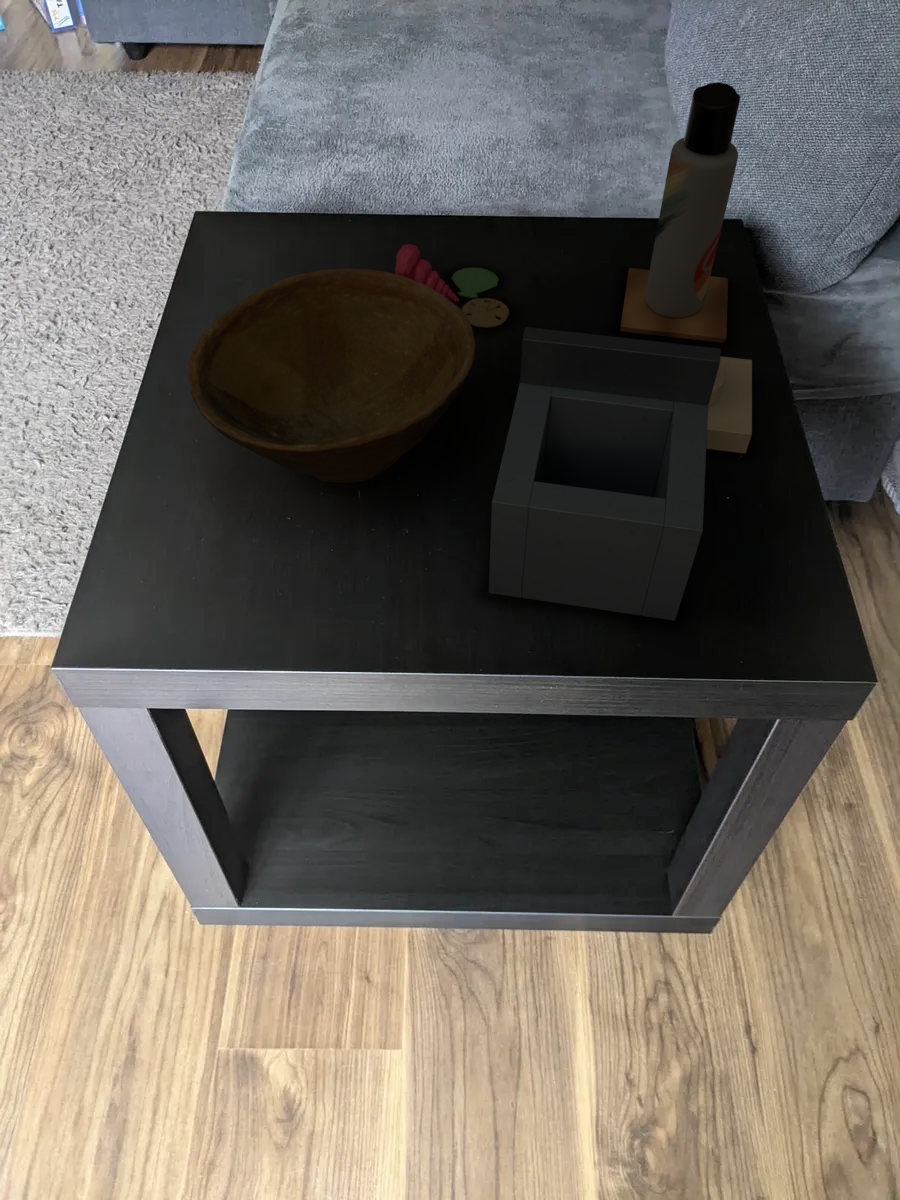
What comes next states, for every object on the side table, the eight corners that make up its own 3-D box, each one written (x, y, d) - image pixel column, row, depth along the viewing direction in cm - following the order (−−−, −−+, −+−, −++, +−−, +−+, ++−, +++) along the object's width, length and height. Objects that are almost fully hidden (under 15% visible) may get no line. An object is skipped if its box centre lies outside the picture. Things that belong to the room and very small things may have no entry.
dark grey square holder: (683, 487, 77) (721, 348, 66) (675, 621, 69) (716, 487, 58) (516, 465, 79) (525, 326, 68) (488, 593, 71) (493, 458, 59)
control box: (746, 379, 85) (757, 343, 82) (745, 453, 79) (757, 418, 76) (615, 364, 87) (620, 328, 84) (604, 436, 81) (610, 400, 78)
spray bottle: (712, 296, 92) (764, 84, 76) (688, 326, 89) (737, 113, 73) (659, 278, 94) (699, 69, 78) (634, 307, 91) (671, 95, 75)
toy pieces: (382, 330, 90) (379, 290, 87) (401, 264, 97) (399, 225, 94) (505, 339, 89) (507, 299, 86) (516, 272, 96) (518, 233, 93)
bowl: (191, 396, 85) (163, 301, 77) (427, 340, 89) (424, 245, 82) (244, 570, 72) (217, 478, 64) (516, 494, 77) (522, 399, 69)
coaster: (726, 282, 95) (728, 277, 94) (725, 343, 89) (726, 338, 88) (628, 272, 96) (629, 267, 95) (619, 331, 90) (620, 326, 89)
